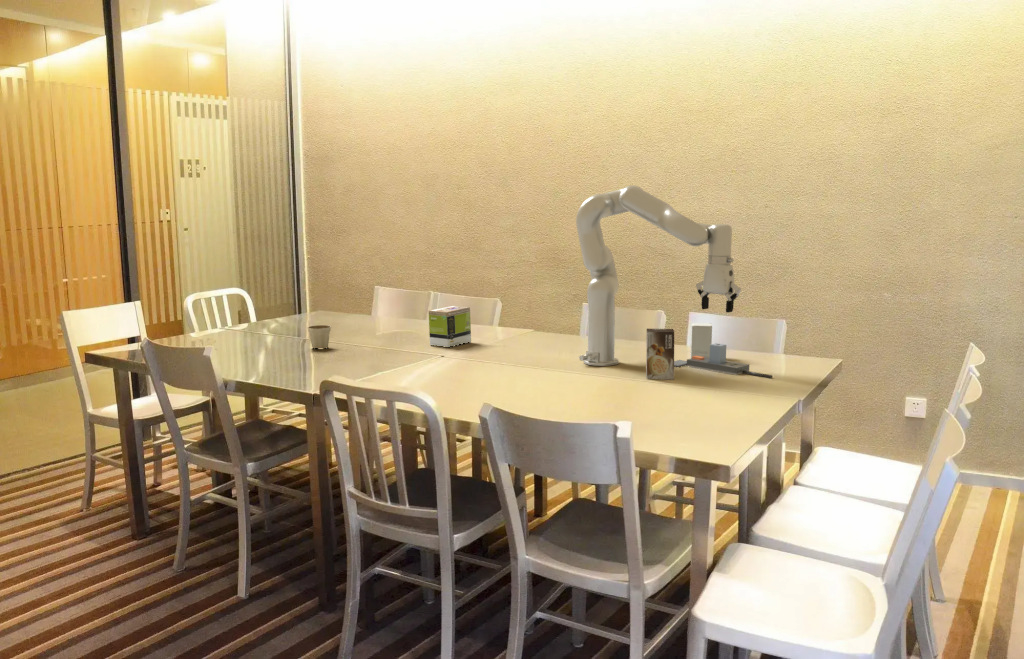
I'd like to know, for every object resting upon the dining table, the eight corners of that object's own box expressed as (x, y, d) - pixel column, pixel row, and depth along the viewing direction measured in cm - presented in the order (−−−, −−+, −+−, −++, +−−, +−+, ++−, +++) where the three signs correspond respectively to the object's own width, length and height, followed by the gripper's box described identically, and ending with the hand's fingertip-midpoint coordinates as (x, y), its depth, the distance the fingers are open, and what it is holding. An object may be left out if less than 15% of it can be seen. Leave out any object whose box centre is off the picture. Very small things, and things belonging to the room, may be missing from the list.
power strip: (765, 380, 276) (766, 371, 275) (686, 366, 298) (686, 357, 297) (778, 376, 281) (778, 367, 281) (699, 362, 303) (699, 354, 303)
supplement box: (711, 360, 308) (712, 326, 306) (690, 359, 309) (691, 325, 307) (710, 356, 315) (711, 322, 313) (690, 355, 317) (691, 322, 314)
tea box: (452, 340, 351) (452, 305, 349) (471, 342, 345) (471, 307, 343) (428, 345, 339) (427, 309, 337) (448, 348, 333) (447, 311, 331)
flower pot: (337, 347, 337) (336, 326, 335) (320, 351, 329) (319, 329, 327) (320, 345, 342) (319, 324, 340) (303, 349, 334) (302, 327, 332)
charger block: (719, 369, 291) (720, 346, 289) (709, 367, 293) (709, 344, 292) (725, 367, 293) (726, 344, 292) (715, 365, 296) (716, 342, 295)
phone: (678, 369, 296) (678, 366, 296) (663, 366, 300) (663, 363, 300) (693, 364, 303) (693, 361, 303) (679, 362, 307) (679, 359, 307)
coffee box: (673, 375, 283) (674, 328, 281) (674, 380, 277) (675, 331, 274) (645, 375, 285) (646, 328, 282) (645, 379, 278) (646, 331, 276)
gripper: (747, 261, 284) (745, 312, 287) (704, 258, 296) (702, 306, 299) (735, 263, 279) (732, 314, 282) (691, 259, 291) (689, 308, 294)
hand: (717, 310), depth 291 cm, fingers open, 9 cm apart
